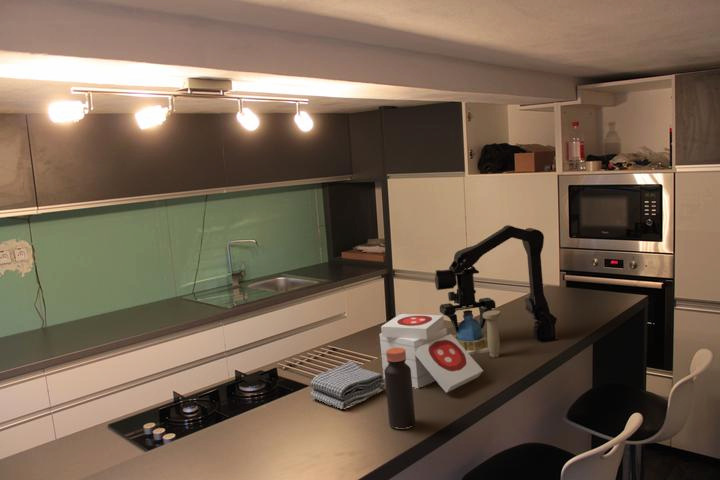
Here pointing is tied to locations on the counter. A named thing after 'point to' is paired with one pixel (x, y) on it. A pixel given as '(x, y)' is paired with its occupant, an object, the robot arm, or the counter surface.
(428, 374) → the pizza boxes
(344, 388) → the towel
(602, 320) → the counter surface
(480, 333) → the perfume bottle
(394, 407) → the vinegar
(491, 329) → the handle
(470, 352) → the gear board
